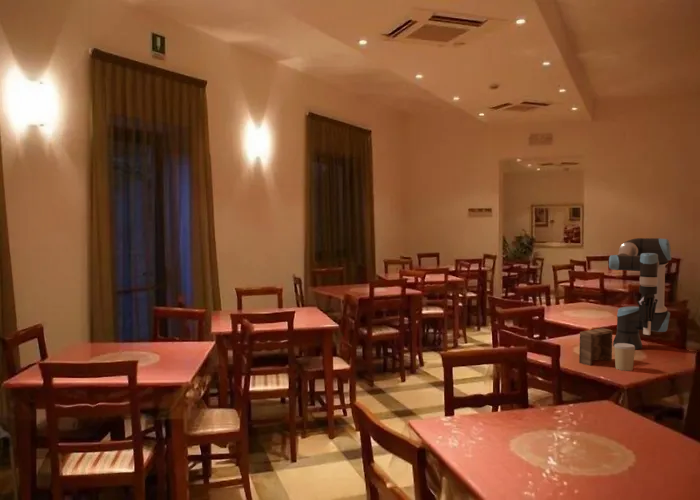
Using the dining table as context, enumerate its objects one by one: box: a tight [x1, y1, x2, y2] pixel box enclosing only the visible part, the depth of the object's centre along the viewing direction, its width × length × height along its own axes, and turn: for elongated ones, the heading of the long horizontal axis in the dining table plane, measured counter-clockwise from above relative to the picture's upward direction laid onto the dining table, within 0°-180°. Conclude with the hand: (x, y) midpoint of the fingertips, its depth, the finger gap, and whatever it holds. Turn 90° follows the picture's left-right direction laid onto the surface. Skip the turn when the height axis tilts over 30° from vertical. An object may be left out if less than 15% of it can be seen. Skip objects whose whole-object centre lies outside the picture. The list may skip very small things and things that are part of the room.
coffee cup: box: [613, 343, 636, 372], centre depth 276 cm, size 9×9×12 cm
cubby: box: [578, 327, 613, 366], centre depth 289 cm, size 18×6×16 cm, turn 121°
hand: (646, 334), depth 266 cm, fingers closed
